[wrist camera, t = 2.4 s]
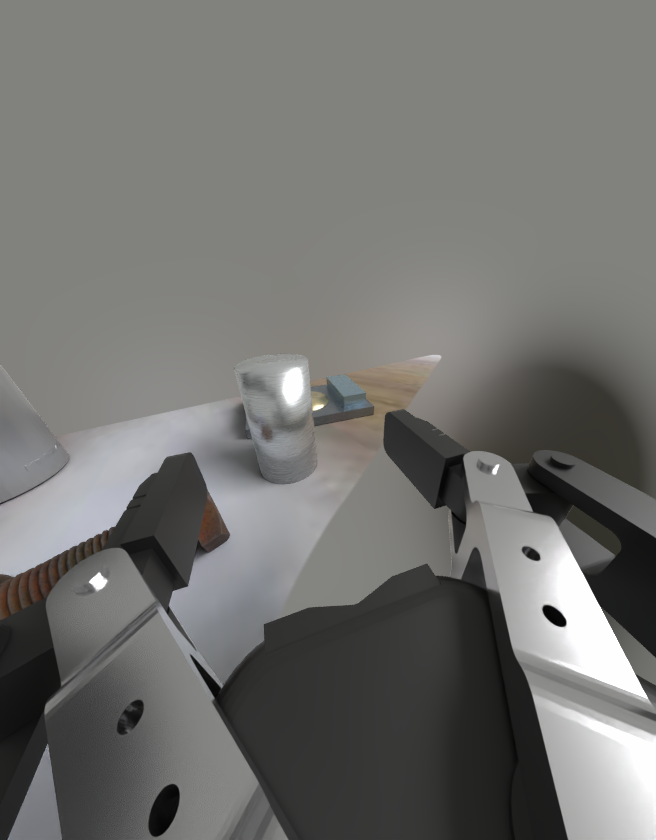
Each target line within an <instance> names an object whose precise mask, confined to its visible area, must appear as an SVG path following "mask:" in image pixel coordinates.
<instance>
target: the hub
mask: <svg viewBox="0 0 656 840" xmlns="http://www.w3.org/2000/svg"><path fill="white" fill-rule="evenodd" d="M234 370H235V375H236V378H237V382H238V386H239V390H240V394H241V398H242V402H243V405H244V409H245V413H246V417H247V421H248V425H249V429H250V433H251V436H252V440H253V444H254V448H255V452H256V456H257V460H258V464H259V467H260V471H261V474H262V476H263V477H264V478H265V479H266V480H268V481H270V482H273V483H277V484H290V483H294V482H298V481H300V480H303V479H304V478H306V477H308V476H309V475H310V474H311V473H312V472H313V471H314V470H315V468H316V466H317V462H318V460H317V450H316V439H315V429H314V419H313V408H312V398H311V388H310V379H309V367H308V359H307V358H306V357H304V356H301V355H295V354H274V355H265V356H259V357H255V358H251V359H248V360H245V361H242V362H240V363H239V364H237V365H236V366H235V367H234Z"/></svg>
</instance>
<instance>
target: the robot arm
mask: <svg viewBox="0 0 656 840" xmlns="http://www.w3.org/2000/svg"><path fill="white" fill-rule="evenodd" d="M384 448H385V451H386V453H387V454H388V456H389V457H390V458H391V459H392V461H394V463H395V464H396V465H397V466H398V467H399V469H400V470H401V471H402V472H403V473H404V474H405V476H406V477H407V478H408V479H409V480H410V481H411V482H412V483H413V485H414V486H415V487H416V488H417V489H418V490H419V492H420V493H421V494H422V495H423V496H424V498H425V499H426V500H427V501H428V502H429V503H430V504H431V506H432V507H433V508H434V509H436V508H439V507H442V506H445V505H447V507H448V508H449V509H450V510H449V514H448V519H449V531H450V546H451V560H452V565H451V574H450V577H446V576H435V575H434V573H433V572H432V570H431V569H430V567H429V566H428V564H425V565H422V566H419V567H417V568H414V569H411V570H409V571H406V572H404V573H400V574H398V575H395V576H392V577H391V578H390V579H388V580H387V581H386V582H385V583H383V584H382V585H381V586H380V587H378V588H377V589H376V590H375V591H373V592H372V593H371V594H369V595H368V596H367V597H366V598H365V599H363V600H362V601H361V602H359V603H358V604H355V605H348V606H347V605H345V606H329V607H313V608H307V609H304V610H301V611H299V612H296V613H293V614H291V615H288V616H286V617H283V618H280V619H277V620H275V621H272V622H269V623H267V624H264V640H265V641H263V642H262V643H261V644H259V645H258V646H257V647H256V648H255V649H254V650H253V651H251V652H250V653H249V654H248V655H247V656H246V657H245V658H244V660H243V661H242V662H241V663H240V664H239V665H238V666H237V667H236V669H235V670H234V671H233V673H232V674H231V675H230V677H229V678H228V680H227V681H226V682H225V684H224V685H222V683H221V682H220V680H219V679H218V677H217V676H216V675H215V673H214V672H213V670H212V669H211V668H210V666H209V665H208V664H207V662H206V661H205V659H204V658H203V656H202V655H201V653H200V652H199V650H198V649H197V647H196V645H195V644H194V642H193V641H192V639H191V638H190V636H189V635H188V633H187V631H186V630H185V628H184V627H183V625H182V624H181V622H180V620H179V619H178V617H177V616H176V614H175V613H174V611H173V610H172V608H171V607H170V605H169V602H170V598H171V595H172V591H174V590H177V589H181V588H184V587H187V586H188V584H189V579H190V575H191V570H192V566H193V561H194V556H195V552H196V547H197V543H198V538H199V534H200V529H201V524H202V520H203V515H204V511H205V506H206V502H207V487H206V484H205V481H204V479H203V476H202V474H201V472H200V469H199V467H198V465H197V462H196V460H195V458H194V456H193V454H192V453H190V452H189V453H184V454H179V455H174V456H169V457H167V458H166V459H165V460H164V462H163V464H162V466H161V468H160V470H159V472H158V473H154V474H152V475H151V476H150V477H148V478H147V479H146V480H145V481H144V482H143V483H142V484H141V485H140V486H139V488H138V489H137V491H136V493H135V494H134V496H133V500H131V501H130V503H129V505H128V506H127V510H126V511H124V513H123V515H122V516H121V518H120V520H119V521H118V523H117V525H116V527H115V528H114V530H113V532H112V533H111V535H110V537H109V538H108V540H107V542H106V543H105V545H104V547H103V548H102V550H101V551H100V552H97V553H95V554H93V555H91V556H89V557H87V558H86V559H84V560H82V561H81V562H80V563H78V564H77V565H75V566H74V567H73V568H72V569H70V570H69V571H68V572H67V573H66V574H65V575H64V576H63V577H62V578H61V579H60V580H59V581H58V582H57V583H56V585H55V586H54V587H53V589H52V590H51V592H50V593H49V596H48V597H46V598H44V599H42V600H40V601H38V602H36V603H34V604H32V605H30V606H28V607H26V608H24V609H22V610H20V611H18V612H16V613H14V614H12V615H10V616H8V617H6V618H4V619H2V620H0V840H7V839H8V837H9V834H10V832H11V830H12V827H13V825H14V822H15V820H16V818H17V815H18V813H19V810H20V808H21V806H22V803H23V801H24V798H25V796H26V794H27V791H28V789H29V787H30V784H31V782H32V779H33V777H34V775H35V772H36V770H37V767H38V765H39V763H40V760H41V758H42V755H43V753H44V751H45V748H46V746H47V743H48V745H49V752H50V759H51V766H52V772H53V779H54V786H55V793H56V799H57V806H58V813H59V820H60V827H61V833H62V840H656V686H655V685H654V684H652V683H650V682H648V681H646V680H645V679H643V678H641V677H640V676H638V675H636V674H634V672H633V670H632V668H631V666H630V664H629V662H628V660H627V658H626V656H625V655H624V653H623V651H622V649H621V647H620V645H619V643H618V641H617V639H616V637H615V635H614V633H613V631H612V630H611V628H610V626H609V624H608V622H607V620H606V618H605V616H604V614H603V612H602V610H601V608H600V607H599V605H600V606H601V607H602V608H603V609H604V610H605V611H606V612H608V614H610V615H611V616H612V617H613V618H614V619H615V620H616V621H617V622H618V623H619V624H620V625H621V626H622V627H623V628H625V629H626V630H627V631H628V632H629V633H630V634H631V635H632V636H633V637H634V638H635V639H636V640H637V641H639V642H640V643H641V644H642V645H643V646H644V647H645V648H646V649H647V650H648V651H649V652H650V653H651V654H652V655H653V656H655V657H656V499H654V498H652V497H650V496H648V495H646V494H644V493H643V492H641V491H639V490H637V489H635V488H633V487H631V486H629V485H627V484H625V483H624V482H622V481H620V480H618V479H616V478H614V477H612V476H610V475H608V474H606V473H605V472H602V471H601V470H599V469H597V468H595V467H592V466H591V465H589V464H587V463H585V462H584V461H582V460H580V459H578V458H576V457H573V456H571V455H568V454H565V453H561V452H557V451H550V450H541V451H537V452H536V453H534V455H533V457H532V459H531V461H530V464H510V463H509V462H508V461H507V460H505V459H504V458H502V457H500V456H498V455H495V454H492V453H489V452H483V451H473V452H470V451H468V450H467V449H465V448H464V447H463V446H461V445H460V444H459V443H457V442H456V441H454V440H453V439H451V438H450V437H449V436H447V435H444V433H443V432H441V431H440V430H439V429H437V428H436V427H434V426H433V425H431V424H430V423H429V422H427V421H424V420H421V419H419V418H415V417H414V416H413V415H411V414H410V413H409V412H407V411H406V410H404V409H402V410H397V411H392V412H388V413H386V415H385V424H384ZM68 460H69V454H68V453H67V452H66V450H65V449H64V448H63V446H62V445H61V444H60V442H59V441H58V440H57V438H56V437H55V436H54V435H53V433H52V432H51V431H50V429H49V428H48V427H47V425H46V424H45V422H44V421H43V420H42V418H41V417H40V416H39V414H38V413H37V412H36V410H35V409H34V408H33V406H32V405H31V404H30V403H29V401H28V400H27V399H26V397H25V396H24V395H23V393H22V392H21V391H20V389H19V388H18V387H17V385H16V384H15V383H14V381H13V380H12V379H11V378H10V376H9V375H8V373H7V372H6V371H5V369H4V368H3V367H2V366H1V364H0V503H1V502H4V501H6V500H9V499H11V498H13V497H16V496H18V495H20V494H22V493H24V492H26V491H28V490H30V489H32V488H33V487H35V486H37V485H39V484H40V483H42V482H44V481H45V480H47V479H48V478H50V477H51V476H53V475H54V474H56V473H57V472H58V471H59V470H60V469H62V468H63V467H64V465H65V464H66V463H67V462H68ZM573 505H574V506H576V507H577V508H579V509H580V510H582V511H583V512H584V513H586V514H587V515H589V516H590V517H592V518H593V519H595V520H596V521H598V522H599V523H601V524H602V525H603V526H605V527H606V528H608V529H609V530H611V531H612V532H613V533H614V534H615V535H616V536H617V537H618V539H619V540H620V542H621V547H622V548H621V551H620V552H619V553H618V554H617V556H615V555H613V554H612V553H611V552H610V551H608V550H607V549H606V548H604V547H603V546H602V545H600V544H599V543H598V542H596V541H595V540H593V539H592V538H591V537H589V536H588V535H587V534H585V533H584V532H583V531H581V530H580V529H579V528H577V527H576V526H575V525H573V524H572V523H571V522H569V521H568V520H567V519H565V518H566V516H567V514H568V513H569V511H570V510H571V508H572V506H573ZM598 604H599V605H598Z"/></svg>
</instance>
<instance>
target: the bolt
mask: <svg viewBox="0 0 656 840" xmlns="http://www.w3.org/2000/svg"><path fill="white" fill-rule="evenodd" d="M114 528H115V527H112V528H110V530H109V531H108V530H106V531H103V533H102V534H98V535H96V536H94V538H90V539H88V540H87V541H86V542H81V543H80V544H79V545H78V546H74V547H72V548H71V549H70V550H66V551H64V552H63V553H61V554H59V555H57V556H55V557H53V558H52V559H49V560H48V561H46V562H44V563H43V564H40V565H37V566H36V567H35V568H32V569H29V570H28V571H26V572H25V573H21V574H19V575H17V576H16V577H15V578H14V577H11V576H9V575H3V574H1V575H0V620H2V619H4V618H6V617H8V616H10V615H12V614H14V613H16V612H18V611H20V610H22V609H24V608H26V607H28V606H30V605H32V604H34V603H36V602H38V601H40V600H42V599H44V598H46V597H48V596H49V593H50V592H51V590H52V589H53V587H54V586H55V585H56V583H57V582H58V581H59V580H60V579H61V578H62V577H63V576H64V575H65V574H66V573H67V572H68V571H69V570H70V569H72V568H73V567H74V566H75V565H77V564H78V563H80V562H81V561H82V560H84V559H86V558H87V557H89V556H91V555H93V554H95V553H97V552H100V551H101V550H102V548H103V547H104V545H105V543H106V542H107V540H108V538H109V537H110V535H111V533H112V532H113V530H114ZM229 536H230V534H229V532H228V530H227V528H226V526H225V524H224V521H223V519H222V517H221V515H220V513H219V511H218V509H217V507H216V505H215V503H214V501H213V500H212V498H211V496H210V494H209V492H208V490H207V502H206V506H205V511H204V515H203V520H202V524H201V529H200V534H199V538H198V541H199V542H200V544H201V546H202V547H203V548H204V549H205V550H207V551H208V552H211V551H212V550H214V549H215V548H217V547H218V546H220V545H221V544H223V543H224V542H226V541H227V540H228V538H229Z"/></svg>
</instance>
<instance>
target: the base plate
mask: <svg viewBox="0 0 656 840" xmlns="http://www.w3.org/2000/svg"><path fill="white" fill-rule="evenodd" d="M326 378H327V385H320V386H314V387H310V388H311V398H312V408H313V419H314V426H317V425H322V424H327V423H332V422H337V421H342V420H348V419H353V418H358V417H363V416H368V415H373V414H374V406H373V405H372V404H371V403H370V402H369V401H368V400H367V399H366V392H364V391H363V390H362V389H361V388H360V387H359V386H358V385H356V384H355V383H354V382H353V381H352V380H351V379H349V378H348V377H347V376H346V375H345V374H344V375H337V376H331V377H326ZM246 434H247V438H248V439H250V438H252V436H251V433H250V429H249V425H248V421H247V417H246Z"/></svg>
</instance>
